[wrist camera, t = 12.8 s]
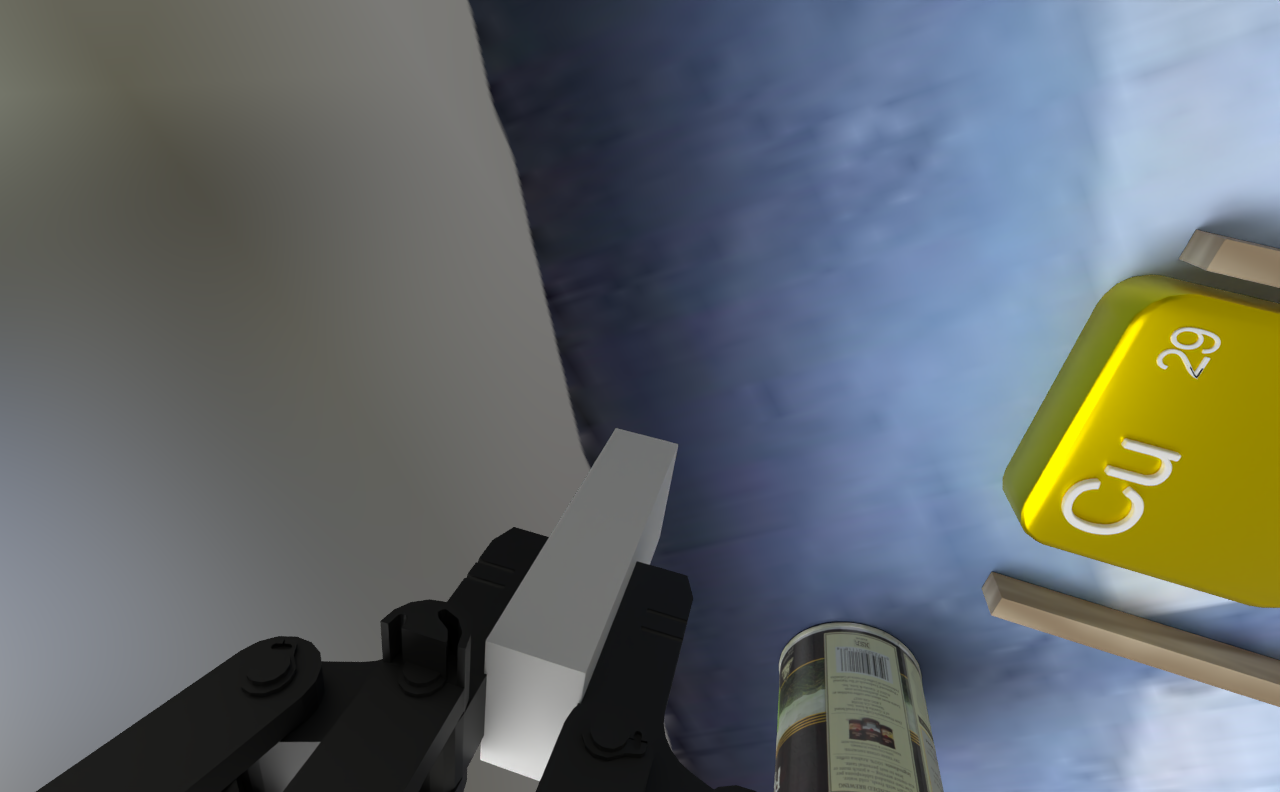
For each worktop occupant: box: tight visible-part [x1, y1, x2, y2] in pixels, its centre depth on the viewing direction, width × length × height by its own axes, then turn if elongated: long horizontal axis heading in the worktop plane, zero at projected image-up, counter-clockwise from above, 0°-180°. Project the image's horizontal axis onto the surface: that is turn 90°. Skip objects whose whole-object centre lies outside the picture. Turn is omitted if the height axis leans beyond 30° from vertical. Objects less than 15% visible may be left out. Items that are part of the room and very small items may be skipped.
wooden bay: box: [982, 230, 1280, 707], centre depth 34 cm, size 24×20×2 cm
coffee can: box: [774, 622, 944, 792], centre depth 41 cm, size 10×10×14 cm
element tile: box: [1003, 275, 1280, 608], centre depth 33 cm, size 15×15×5 cm
